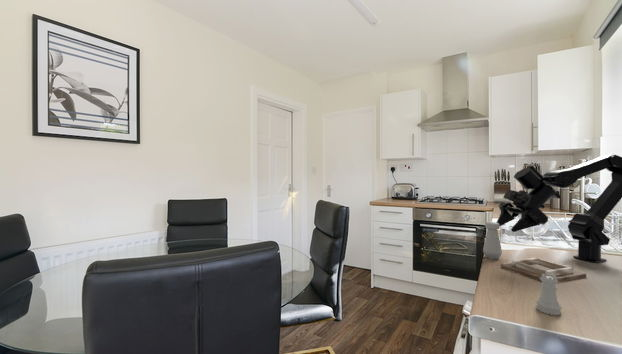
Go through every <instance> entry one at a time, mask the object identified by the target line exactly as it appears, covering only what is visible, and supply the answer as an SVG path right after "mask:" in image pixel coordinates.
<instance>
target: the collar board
mask: <svg viewBox="0 0 622 354" xmlns="http://www.w3.org/2000/svg"><path fill="white" fill-rule="evenodd" d="M500 267H501V269H504V270H506V271H510V272H511V273H512V272H513V273H515V274H519V275H522V276H524V277H528V278H531V279H533V280H536V281H540V282H542V281H541V280H540V277H542V274H545V276H546V274H549V276H550V277H551V275H554V276H556V279H557V280H558V283H560V282H565V281H566V282H567V281H572V280H577V279H585V278H587V273H585V272H580V271H577V270H574V267H571V266H567V265H564V264H560V263H556V262H552V261H548V260H547V259H546V260H545V259H542V258H538V257H531V258H523V259H515V260H512V261H511V262H510V263H505V264H504V263H503V264H500Z"/></svg>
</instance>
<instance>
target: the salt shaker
mask: <svg viewBox="0 0 622 354" xmlns="http://www.w3.org/2000/svg"><path fill="white" fill-rule="evenodd" d="M496 222H497V221H496ZM496 222H495V221H487V222H485V228H486V229H487V231H486V235H485V240H484V244H483V249H482V252H483V255H484V256H485V258H486V259H490V260H499V259H500V257H501V256H502V254H503V249H502V244H501V239H500V235H499V230H500V227H501V226H500V225H499V224H498V223H496Z"/></svg>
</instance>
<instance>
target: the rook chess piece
mask: <svg viewBox="0 0 622 354" xmlns="http://www.w3.org/2000/svg"><path fill="white" fill-rule="evenodd" d="M540 280H541V281H540V282H541V284H540V287H541V293H540V296H539V298H538V299H537V300H536V304H537V305H535V307H536V309H538V311H539V310H540V311H539V312H540V313H543V312H544V313H543V314H545V313H547V314H546V315H548V314H552V315H551V316H555V315H557V316H560V315H561V314H562V313H563V312H562V306H561V304H560V301H558V296H557V290H558V287H557V284H558V283H559V282H558V280H557V279H556V276H554V275H551V277H550V276H549V274H546V276H545V274H542V277H540Z"/></svg>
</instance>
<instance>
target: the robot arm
mask: <svg viewBox="0 0 622 354" xmlns="http://www.w3.org/2000/svg"><path fill="white" fill-rule="evenodd" d="M603 170H606V171H609V172H611V174H610V175H611V181H610V183H609V184H608V185H607V186H606V188H605V189H604V190H603V192H602V193H601V194H600V195H599V196H598V198H597V199H596V200H595V201H594V203H593V204H592V205H591V206H590V207H589V209H588V210H587V211H586V212H585V213H575V214H574V215H573V217H572V218H571V219H570V220H568V226H567V229H568V231H569V233H570V235H571V238H572V239H573V240H576V241H578V243H577V244H578V246H577V255H573V258H575V259H580V260H583V261H586V262H592V263H599V262H607V260H608V259H606V258H602V246H608V245H609V243H610V240H611V239H610V238H609V237H608V236H607V235H606V234H605V233H604V229H605V219H606V218H607V217H608V215H609V214H610V213H611V211H613V209H614V208H615V207H616V206H617V205H618V203H619V202H620V201H621V200H622V156H621V155H617V154H602V155H600V156H599V157H596V158H594V159H591V160H589V161H585V162H583V163H580V164H578V165H574V166H572V167H569V168H564V169H557V170H552V171H547V172H545V173H543V175H542V174H541V173H540V172H539V171H538V170H537V169H536V168H535V167H534V165H528V166H526V167H525V168H522V169H520V170H519V171H516V173H515V174H514V175H513V178H514V179H515V180H516V182H517V183H519V184H520V185H521V186H522V187H523V188H524V189H526V190H530V191H529V192H527V191H526V190H523V189H522V190H521V189H520V190H518V191H517V190H512V189H507V190H506V191H505V193H504V195H503V199H505V200H509V201H511V202H512V203H511V202H506V201H504V202H500V203H499V205H498V208H499V211H500V214H499V217H498V219H497V220H496V223H498V224H499V225H500V227H501V226H504V225H505V224H508V223H510V222H512V221H513V220H514V221H515V219H516V218H517V217H519V215H520V218H519V220H517V222H516V223H515V224H514V225H513V226H512V227H511V229H510V230H511V232H512V233H515V232H518V231H521V230H525V229H528V228H531V227H532V228H533V227H537V226H541V225H543V226H544V225H546V223H548V221H549V217H548V216H547V214H546V213H544V212H543V211H542V210H543V209H544V208H546V207H545V205H544V204H546V203H547V202H548V201H549V200H550V199H561V195H560V191H559V190H555V189H554V188H560V189H561V188H562V189H565V188H568V187H570V186H572V185H574V184H576V182H577V181H578V180H579V179H581V178H584V177H586V176H587V177H588V176H590V175H592V174H595V173H598V172H601V171H603ZM541 209H542V210H541Z"/></svg>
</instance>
